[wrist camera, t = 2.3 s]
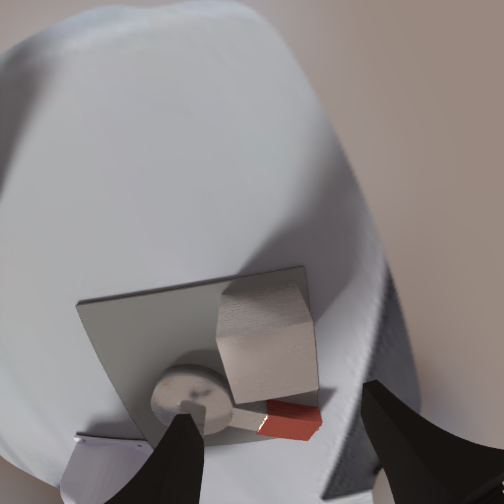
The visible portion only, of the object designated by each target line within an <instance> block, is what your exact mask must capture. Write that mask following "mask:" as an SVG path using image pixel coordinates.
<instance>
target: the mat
mask: <svg viewBox="0 0 504 504" xmlns="http://www.w3.org/2000/svg"><path fill="white" fill-rule="evenodd" d="M293 280H295V282H296V284H297V286H298V288H299V290H300V293H301V295H302V297H303V299H304V302H305V304H306V306H307V309H308V311H309V313H310V309H309V300H308V291H307V283H306V274H305V267H304V266H300V267H295V268H290V269H284V270H279V271H274V272H268V273H263V274H258V275H252V276H247V277H241V278H235V279H230V280H224V281H218V282H213V283H207V284H201V285H195V286H190V287H184V288H178V289H172V290H166V291H159V292H153V293H147V294H141V295H135V296H128V297H122V298H115V299H109V300H102V301H95V302H89V303H82V304H77V305H76V306H75V307H76V309H77V312H78V314H79V316H80V319H81V321H82V324H83V326H84V328H85V330H86V333H87V335H88V337H89V339H90V341H91V343H92V346H93V348H94V350H95V352H96V354H97V356H98V358H99V360H100V362H101V364H102V366H103V368H104V370H105V372H106V374H107V375H108V377H109V379H110V381H111V383H112V385H113V386H114V388H115V390H116V392H117V394H118V395H119V397H120V399H121V400H122V402H123V404H124V405H125V407H126V409H127V410H128V412H129V414H130V415H131V417H132V418H133V420H134V422H135V423H136V425H137V426H138V428H139V429H140V431H141V432H142V434H143V435H144V437H145V438H146V440H147V441H148V443H149V444H150V445H151V447H156V446H157V445H158V443H159V442H160V440H161V439H162V437H163V435H164V434H165V432H166V430H167V429H168V427H167V426H166V425H164V424H163V423H162V422H161V421H159V420H158V418H157V417H156V416H155V415H154V413H153V411H152V408H151V398H152V394H153V391H154V388H155V385H156V382H157V379H158V377H159V375H160V374H161V373H162V372H163V371H164V370H166V369H168V368H170V367H172V366H175V365H180V364H196V365H201V366H205V367H208V368H210V369H213V370H215V371H216V372H218V373H220V374H221V375H222V376H224V377H225V378H226V379H227V381H228V378H227V375H226V372H225V368H224V365H223V362H222V359H221V355H220V352H219V348H218V345H217V342H216V330H217V322H218V314H219V306H220V298H221V294H222V293H227V292H233V291H239V290H245V289H250V288H256V287H261V286H267V285H272V284H277V283H283V282H288V281H293ZM228 382H229V381H228ZM272 400H277V401H283V402H289V403H295V404H301V405H307V406H314V407H318V401H317V390H314V391H310V392H305V393H300V394H295V395H290V396H285V397H279V398H273V399H272ZM317 430H319V428H318V429H317ZM317 430H316V431H317ZM276 438H278V437H270V436H264V435H257V431H254V430H248V429H243V428H237V427H232V426H227V427H226V428H224V429H223V430H221V431H219V432H216V433H213V434H209V435H203V440H204V446H215V445H228V444H238V443H247V442H255V441H263V440H269V439H276Z"/></svg>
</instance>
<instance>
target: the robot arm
mask: <svg viewBox="0 0 504 504" xmlns="http://www.w3.org/2000/svg"><path fill="white" fill-rule="evenodd" d="M361 417H362V420H363V423H364V426H365V429H366V432H367V435H368V437H369V439H370V441H371V443H372V445H373V447H374V450H375V452H376V454H377V456H378V458H379V460H380V462H381V464H382V466H383V469H384V471H385V473H386V476H387V478H388V481H389V485H390V488H391V491H392V494H393V498H394V502H395V504H504V493H503V492H502V491H503V490H504V485H503V484H502V482H503V481H504V450H502V449H497V448H492V447H487V446H483V445H479V444H476V443H473V442H470V441H468V440H465V439H462V438H460V437H457V436H455V435H453V434H451V433H449V432H447V431H445V430H443V429H441V428H439V427H437V426H436V425H434V424H432V423H431V422H429V421H427V420H426V419H425V418H423V417H422V416H420V415H419V414H417V413H416V412H415V411H413V410H412V409H411V408H409V407H408V406H407V405H406V404H404V403H403V402H402V401H401V400H400V399H398V398H397V397H396V396H395V395H394V394H393V393H391V392H390V391H389V390H388V389H387V388H386V387H385V386H384V385H383V384H382V383H380V382H379V381H378V380H377V379H376V380H373V381H370V382H366V383H363V391H362V404H361ZM74 440H75V441H76V442H77V444H76V446H75V449H74V451H73V453H72V455H71V458H70V460H69V462H68V465H67V467H66V469H65V472H64V474H63V476H62V479H61V484H60V490H61V496H62V499H63V501H64V503H65V504H199V499H200V491H201V483H202V475H203V467H204V440H203V438H202V436H201V434H200V432H199V430H198V428H197V426H196V424H195V422H194V420H193V418H192V416H191V414H190V413H188V414H176V415H175V417H174V419H173V420H172V422H171V424H170V425H169V427H168V429H167V430H166V432H165V434H164V435H163V437H162V439H161V440H160V442H159V443H158V445H157V446H156V448H155V449H153V448H152V447H151V445H150V444H149V443H148V442H147V441H140V440H120V439H107V438H97V437H88V436H80V435H75V436H74Z"/></svg>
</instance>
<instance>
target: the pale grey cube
mask: <svg viewBox="0 0 504 504" xmlns="http://www.w3.org/2000/svg"><path fill="white" fill-rule="evenodd" d="M216 342H217V345H218V348H219V352H220V355H221V359H222V362H223V365H224V368H225V372H226V375H227V378H228V381H229V384H230V387H231V391H232V394H233V397H234V400H235V403H236V404H240V403H248V402H255V401H261V400H267V399H273V398H279V397H285V396H290V395H295V394H300V393H305V392H310V391H314V390H319V388H318V373H317V360H316V348H315V337H314V326H313V320H312V318H311V315H310V313H309V311H308V309H307V306H306V304H305V302H304V299H303V297H302V295H301V293H300V290H299V288H298V286H297V284H296V282H295V280H293V281H288V282H283V283H277V284H272V285H267V286H261V287H256V288H250V289H245V290H239V291H233V292H227V293H222V294H221V298H220V306H219V314H218V322H217V330H216Z"/></svg>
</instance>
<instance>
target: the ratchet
mask: <svg viewBox="0 0 504 504" xmlns="http://www.w3.org/2000/svg"><path fill="white" fill-rule="evenodd" d="M151 408H152V411H153V413H154V415H155V416H156V417H157V418H158V420H159V421H161V422H162V423H163V424H164V425H166V426H167V427H169V425H170V424H171V422H172V420H173V419H174V417H175V415H176V414H188V413H190V414H191V416H192V418H193V420H194V422H195V424H196V426H197V428H198V430H199V432H200V434H201V436H202V438H203V435H209V434H213V433H216V432H219V431H221V430H223V429H224V428H226V427H227V426H232V427H237V428H243V429H248V430H254V431H257V435H264V436H270V437H278V438H285V439H294V440H303V441H308V440H309V439H310V438H311V436H312V435H313V434H314V433H315V431H316V430H317V429H318V428H319V426H320V425H321V424H322V419H321V415H320V412H319V409H318V407H314V406H307V405H301V404H295V403H289V402H283V401H277V400H272V399H267V400H261V401H255V402H248V403H240V404H236V403H235V400H234V397H233V394H232V391H231V387H230V384H229V382H228V381H227V379H226V378H225V377H224V376H222V375H221V374H220V373H218V372H216V371H215V370H213V369H210V368H208V367H205V366H201V365H196V364H180V365H175V366H172V367H170V368H168V369H166V370H164V371H163V372H162V373H161V374H160V375H159V377H158V379H157V382H156V385H155V388H154V391H153V394H152V398H151Z"/></svg>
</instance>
